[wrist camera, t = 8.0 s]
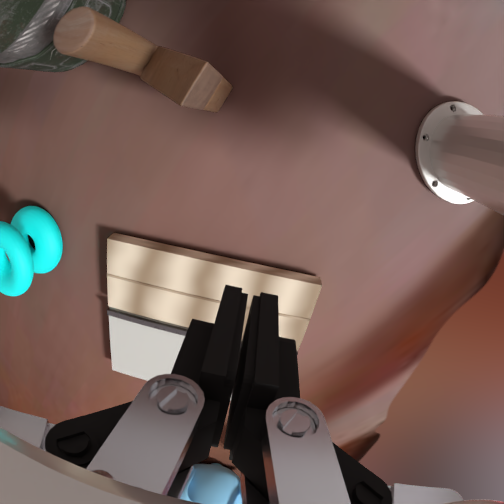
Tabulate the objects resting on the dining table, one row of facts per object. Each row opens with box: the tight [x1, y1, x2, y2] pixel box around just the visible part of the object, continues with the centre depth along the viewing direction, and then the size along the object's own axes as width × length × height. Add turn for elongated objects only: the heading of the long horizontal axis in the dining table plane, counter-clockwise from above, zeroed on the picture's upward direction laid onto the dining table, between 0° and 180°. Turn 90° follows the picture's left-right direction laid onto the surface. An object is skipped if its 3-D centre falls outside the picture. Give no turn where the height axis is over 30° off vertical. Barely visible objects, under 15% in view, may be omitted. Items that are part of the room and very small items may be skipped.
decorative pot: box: [180, 463, 242, 504], centre depth 53 cm, size 16×16×14 cm
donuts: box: [0, 206, 63, 296], centre depth 35 cm, size 10×10×10 cm
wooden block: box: [53, 7, 233, 113], centre depth 23 cm, size 4×11×18 cm, turn 59°
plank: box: [107, 233, 322, 350], centre depth 40 cm, size 26×10×2 cm, turn 78°
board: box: [107, 307, 298, 401], centre depth 44 cm, size 26×12×2 cm, turn 78°
